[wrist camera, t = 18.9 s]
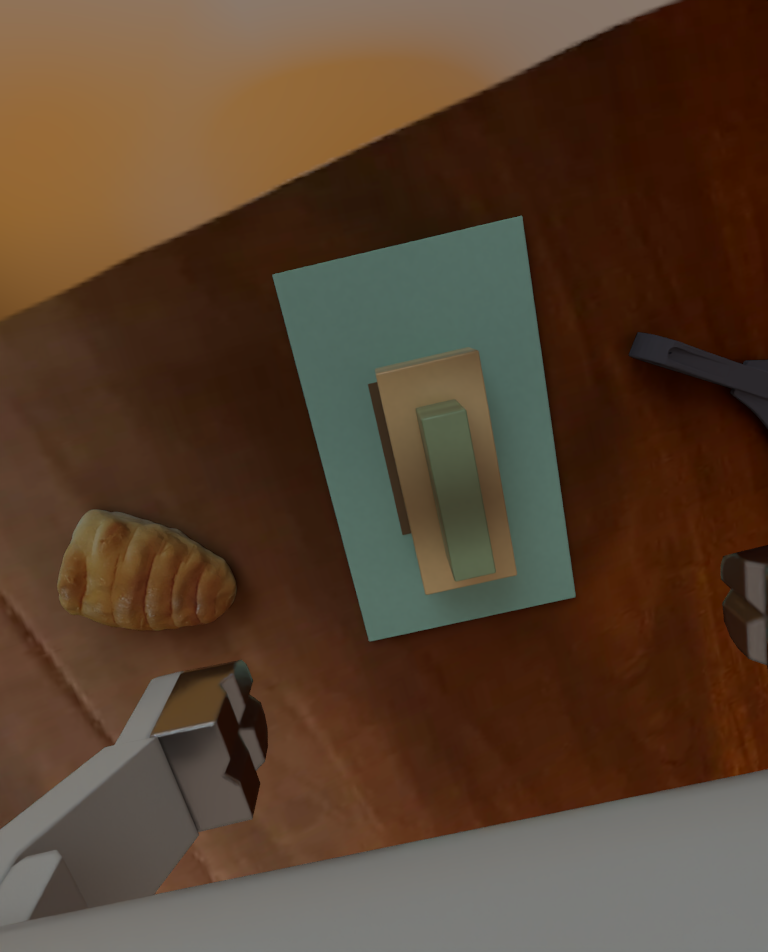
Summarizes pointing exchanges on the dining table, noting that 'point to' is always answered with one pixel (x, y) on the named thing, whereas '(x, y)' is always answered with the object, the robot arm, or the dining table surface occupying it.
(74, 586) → the pastry
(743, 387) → the bracket
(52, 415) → the dining table surface
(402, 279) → the mat
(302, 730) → the dining table surface
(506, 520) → the brush
